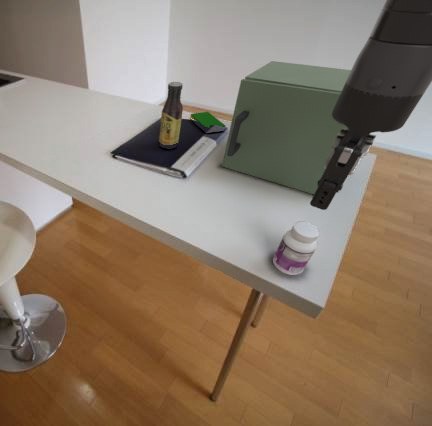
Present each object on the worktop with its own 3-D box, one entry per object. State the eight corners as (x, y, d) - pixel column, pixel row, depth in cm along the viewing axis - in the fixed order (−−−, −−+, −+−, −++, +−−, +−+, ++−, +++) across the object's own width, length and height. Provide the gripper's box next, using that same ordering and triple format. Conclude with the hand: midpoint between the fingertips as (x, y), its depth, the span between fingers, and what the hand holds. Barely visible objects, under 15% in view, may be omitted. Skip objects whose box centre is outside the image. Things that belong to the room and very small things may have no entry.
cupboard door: (319, 209, 67) (373, 108, 52) (213, 175, 80) (231, 86, 65) (324, 195, 71) (377, 97, 56) (222, 164, 84) (242, 78, 69)
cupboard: (324, 195, 71) (378, 96, 56) (224, 163, 85) (245, 76, 70) (341, 165, 81) (390, 74, 66) (249, 141, 95) (271, 60, 80)
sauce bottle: (155, 144, 96) (158, 82, 83) (170, 140, 98) (176, 78, 85) (166, 153, 91) (171, 88, 79) (182, 148, 93) (190, 84, 80)
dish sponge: (205, 134, 100) (207, 128, 98) (189, 119, 110) (190, 113, 109) (224, 132, 101) (226, 125, 99) (207, 117, 111) (208, 111, 110)
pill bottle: (277, 250, 58) (294, 214, 52) (306, 263, 56) (327, 226, 49) (268, 266, 55) (285, 230, 49) (298, 281, 53) (320, 244, 46)
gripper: (422, 107, 28) (343, 228, 39) (430, 73, 36) (362, 181, 46) (334, 93, 32) (284, 206, 43) (358, 65, 40) (311, 166, 50)
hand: (325, 193), depth 44 cm, fingers open, 8 cm apart
